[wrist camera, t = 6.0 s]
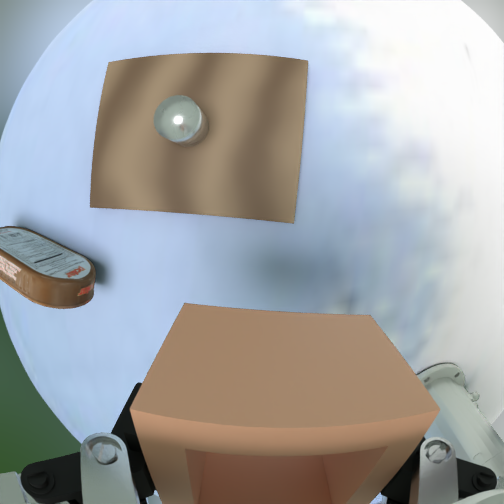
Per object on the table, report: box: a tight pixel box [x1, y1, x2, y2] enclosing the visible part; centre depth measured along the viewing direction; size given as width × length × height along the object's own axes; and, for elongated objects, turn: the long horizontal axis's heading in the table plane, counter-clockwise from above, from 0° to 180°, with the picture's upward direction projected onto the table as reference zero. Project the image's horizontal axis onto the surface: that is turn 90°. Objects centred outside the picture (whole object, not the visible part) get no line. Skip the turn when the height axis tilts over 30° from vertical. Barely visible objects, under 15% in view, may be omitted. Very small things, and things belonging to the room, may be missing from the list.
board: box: [90, 53, 308, 223], centre depth 22 cm, size 18×14×2 cm
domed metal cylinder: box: [154, 95, 209, 147], centre depth 19 cm, size 3×3×4 cm
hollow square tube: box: [130, 303, 441, 504], centre depth 8 cm, size 6×6×5 cm
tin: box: [0, 226, 96, 309], centre depth 21 cm, size 15×3×8 cm, turn 70°
